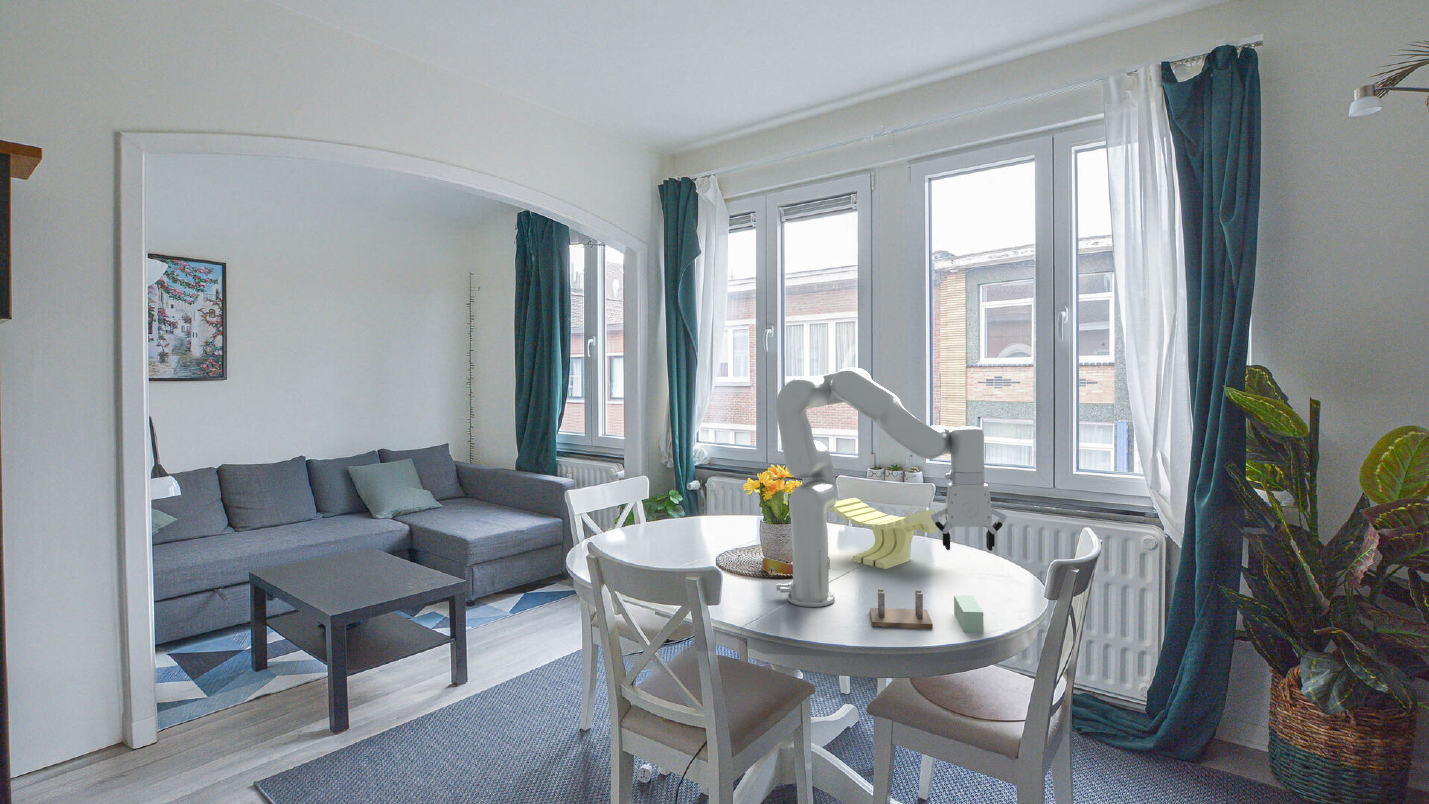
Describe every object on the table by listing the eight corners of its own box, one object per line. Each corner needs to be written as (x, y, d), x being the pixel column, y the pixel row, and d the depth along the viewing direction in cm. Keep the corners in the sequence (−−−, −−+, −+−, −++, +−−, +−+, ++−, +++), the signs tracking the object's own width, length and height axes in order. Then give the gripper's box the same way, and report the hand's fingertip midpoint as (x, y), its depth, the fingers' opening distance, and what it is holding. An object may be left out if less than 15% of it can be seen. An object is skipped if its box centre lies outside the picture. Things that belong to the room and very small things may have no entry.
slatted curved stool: (937, 564, 223) (937, 507, 222) (909, 574, 212) (908, 515, 211) (859, 547, 245) (858, 496, 244) (830, 556, 234) (829, 502, 234)
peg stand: (872, 626, 170) (872, 597, 170) (869, 612, 180) (869, 584, 180) (932, 628, 168) (932, 599, 168) (926, 614, 178) (926, 586, 177)
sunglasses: (753, 571, 219) (754, 555, 219) (784, 568, 230) (785, 552, 230) (789, 580, 209) (790, 563, 209) (819, 576, 220) (821, 560, 220)
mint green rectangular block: (963, 632, 166) (963, 611, 166) (954, 615, 178) (954, 595, 177) (983, 633, 165) (983, 612, 165) (972, 615, 177) (972, 595, 177)
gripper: (932, 481, 167) (933, 552, 168) (1009, 480, 165) (1010, 553, 165) (928, 476, 175) (929, 545, 176) (1001, 476, 172) (1002, 545, 173)
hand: (968, 549), depth 170 cm, fingers open, 9 cm apart
